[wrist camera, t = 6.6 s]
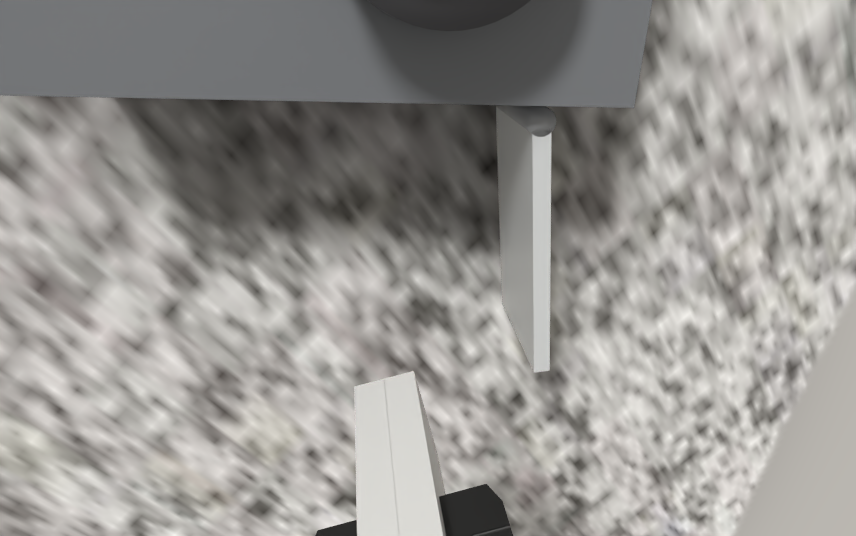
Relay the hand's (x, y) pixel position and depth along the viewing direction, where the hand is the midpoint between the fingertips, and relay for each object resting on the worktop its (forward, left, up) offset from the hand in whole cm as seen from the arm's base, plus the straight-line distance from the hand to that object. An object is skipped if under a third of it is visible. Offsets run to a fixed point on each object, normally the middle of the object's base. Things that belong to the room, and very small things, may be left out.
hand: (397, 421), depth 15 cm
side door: (+5, +2, -12) cm, 13 cm away
